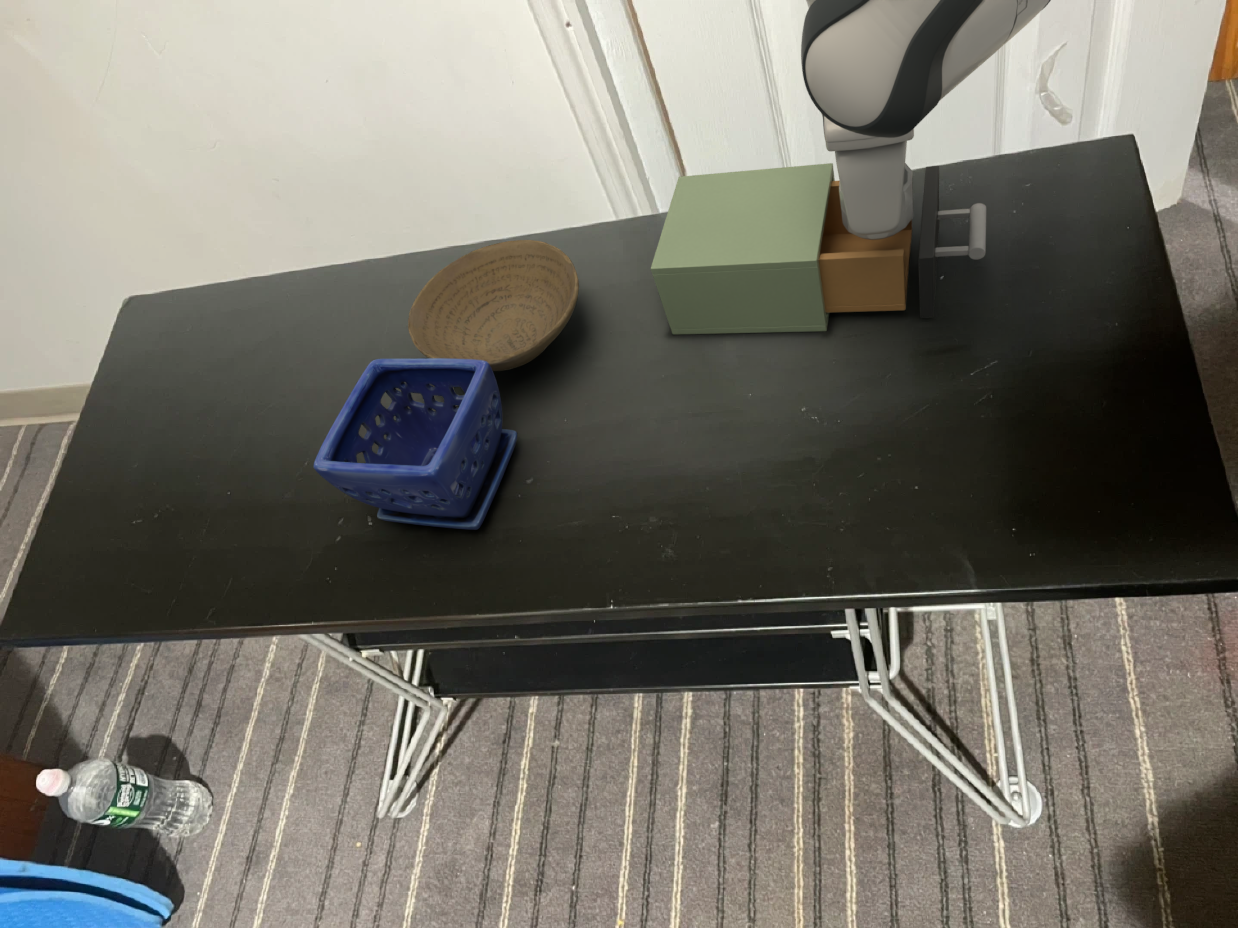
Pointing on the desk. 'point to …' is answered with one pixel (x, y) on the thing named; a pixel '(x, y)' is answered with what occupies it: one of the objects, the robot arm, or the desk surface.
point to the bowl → (496, 304)
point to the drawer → (890, 256)
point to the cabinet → (745, 251)
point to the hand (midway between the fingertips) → (877, 204)
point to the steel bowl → (905, 208)
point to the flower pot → (421, 442)
